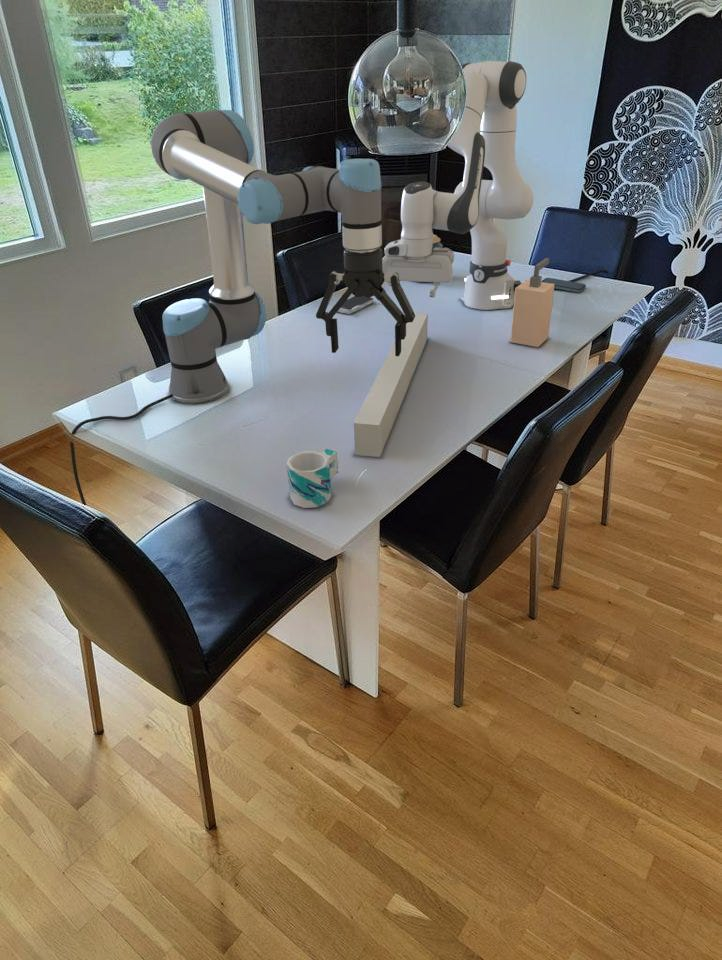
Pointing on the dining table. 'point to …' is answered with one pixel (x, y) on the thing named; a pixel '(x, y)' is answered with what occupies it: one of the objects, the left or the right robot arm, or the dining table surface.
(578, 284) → the smartphone
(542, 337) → the soap dispenser
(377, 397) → the bar
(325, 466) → the mug
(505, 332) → the dining table surface
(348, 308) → the smartphone
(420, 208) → the right robot arm
